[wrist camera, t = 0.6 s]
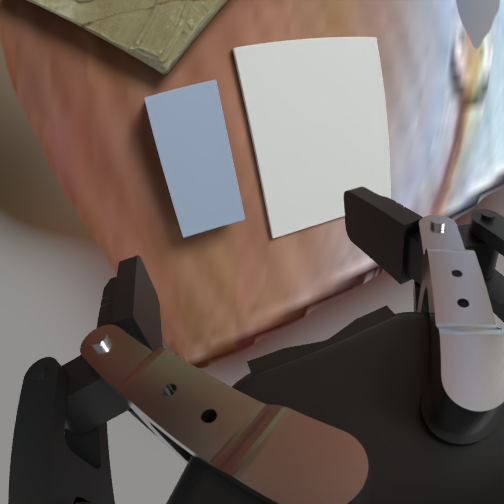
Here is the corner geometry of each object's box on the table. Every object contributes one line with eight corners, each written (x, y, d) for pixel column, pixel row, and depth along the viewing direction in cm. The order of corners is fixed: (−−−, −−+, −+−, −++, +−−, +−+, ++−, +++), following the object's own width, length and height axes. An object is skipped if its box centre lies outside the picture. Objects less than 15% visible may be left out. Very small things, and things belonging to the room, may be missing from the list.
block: (146, 97, 24) (144, 97, 21) (208, 81, 25) (215, 79, 21) (179, 220, 30) (183, 237, 27) (234, 203, 31) (245, 219, 28)
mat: (232, 48, 24) (233, 48, 23) (372, 37, 26) (375, 37, 25) (271, 236, 33) (273, 238, 33) (387, 199, 35) (390, 201, 35)
